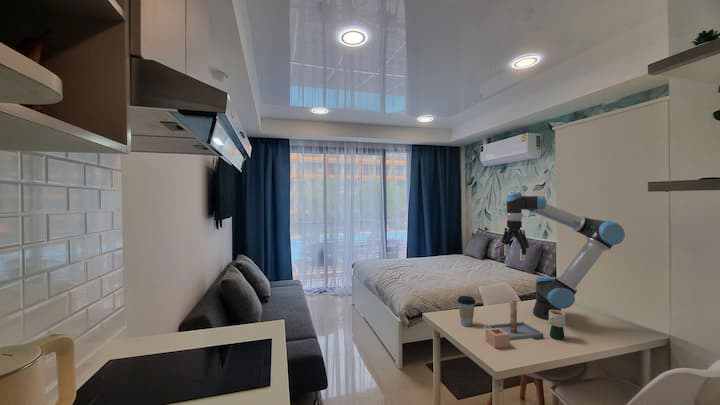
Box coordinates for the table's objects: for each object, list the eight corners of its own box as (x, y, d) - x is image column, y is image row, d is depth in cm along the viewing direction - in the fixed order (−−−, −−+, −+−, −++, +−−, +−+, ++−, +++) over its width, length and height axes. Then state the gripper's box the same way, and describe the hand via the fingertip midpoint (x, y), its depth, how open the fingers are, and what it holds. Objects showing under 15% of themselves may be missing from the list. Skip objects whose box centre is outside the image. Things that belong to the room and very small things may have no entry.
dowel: (514, 330, 162) (514, 300, 162) (518, 332, 159) (517, 302, 159) (509, 330, 162) (508, 300, 162) (513, 333, 159) (512, 302, 159)
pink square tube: (499, 341, 152) (499, 327, 152) (509, 348, 145) (509, 334, 145) (485, 343, 151) (485, 328, 151) (494, 350, 144) (494, 335, 144)
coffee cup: (464, 320, 179) (464, 294, 179) (479, 325, 172) (478, 298, 171) (454, 324, 174) (453, 297, 174) (468, 329, 166) (468, 302, 166)
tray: (522, 325, 170) (522, 321, 170) (543, 338, 155) (543, 333, 155) (486, 329, 166) (486, 325, 166) (503, 342, 151) (503, 337, 151)
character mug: (558, 333, 160) (558, 308, 160) (571, 338, 154) (571, 313, 153) (542, 336, 157) (542, 311, 156) (556, 342, 150) (555, 316, 150)
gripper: (494, 219, 185) (495, 254, 186) (523, 222, 160) (523, 262, 161) (506, 218, 186) (506, 253, 187) (536, 221, 162) (536, 262, 162)
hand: (514, 257), depth 174 cm, fingers open, 13 cm apart
